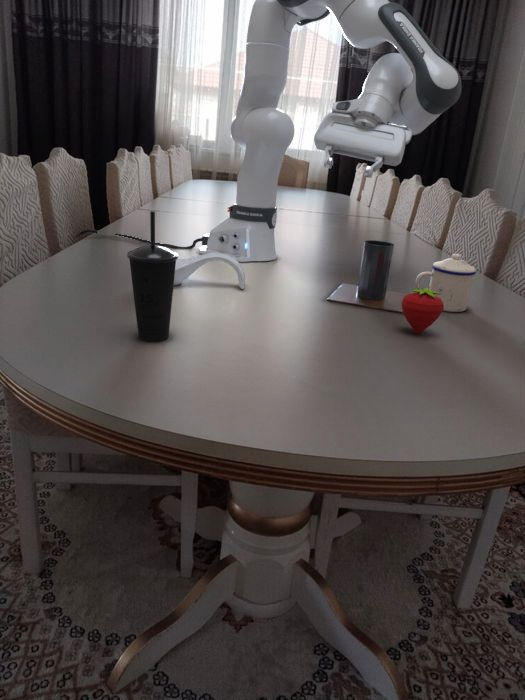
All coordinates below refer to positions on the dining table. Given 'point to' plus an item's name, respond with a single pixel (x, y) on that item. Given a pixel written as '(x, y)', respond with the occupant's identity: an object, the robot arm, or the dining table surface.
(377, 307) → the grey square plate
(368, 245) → the waste bin
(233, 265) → the white arch
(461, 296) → the teacup with lid
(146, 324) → the drinking cup
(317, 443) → the dining table surface
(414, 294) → the strawberry
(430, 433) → the dining table surface
